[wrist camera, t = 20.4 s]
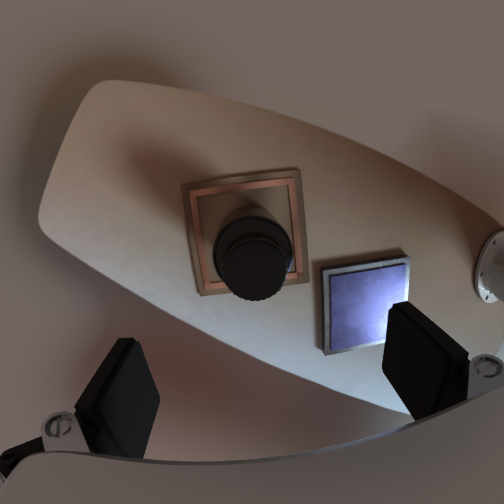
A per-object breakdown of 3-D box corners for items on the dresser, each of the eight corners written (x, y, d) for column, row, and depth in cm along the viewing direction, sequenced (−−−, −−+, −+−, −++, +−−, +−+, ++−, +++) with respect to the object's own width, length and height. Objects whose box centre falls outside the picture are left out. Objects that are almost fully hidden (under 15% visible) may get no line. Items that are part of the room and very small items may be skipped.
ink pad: (405, 254, 34) (411, 257, 32) (399, 333, 37) (404, 338, 35) (320, 267, 34) (323, 271, 32) (322, 350, 37) (325, 357, 35)
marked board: (299, 169, 31) (300, 169, 30) (308, 281, 34) (310, 282, 33) (182, 184, 30) (180, 184, 30) (200, 295, 34) (199, 297, 33)
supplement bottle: (206, 229, 31) (186, 259, 20) (256, 192, 31) (266, 200, 19) (243, 277, 33) (244, 329, 21) (292, 242, 32) (320, 278, 21)
